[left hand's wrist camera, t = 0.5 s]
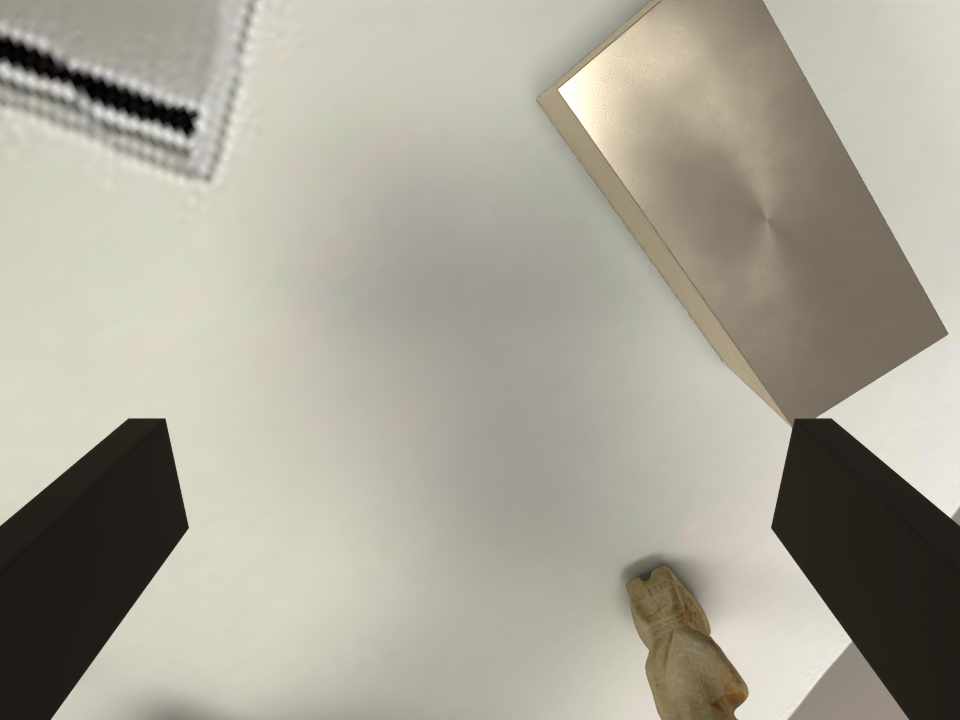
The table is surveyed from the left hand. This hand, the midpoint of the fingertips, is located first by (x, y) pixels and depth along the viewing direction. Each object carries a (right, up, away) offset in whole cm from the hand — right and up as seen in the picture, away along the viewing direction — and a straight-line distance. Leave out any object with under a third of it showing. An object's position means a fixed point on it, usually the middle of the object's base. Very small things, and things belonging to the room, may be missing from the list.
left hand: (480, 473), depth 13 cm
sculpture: (+14, -16, +34) cm, 40 cm away
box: (+13, +12, +23) cm, 29 cm away
